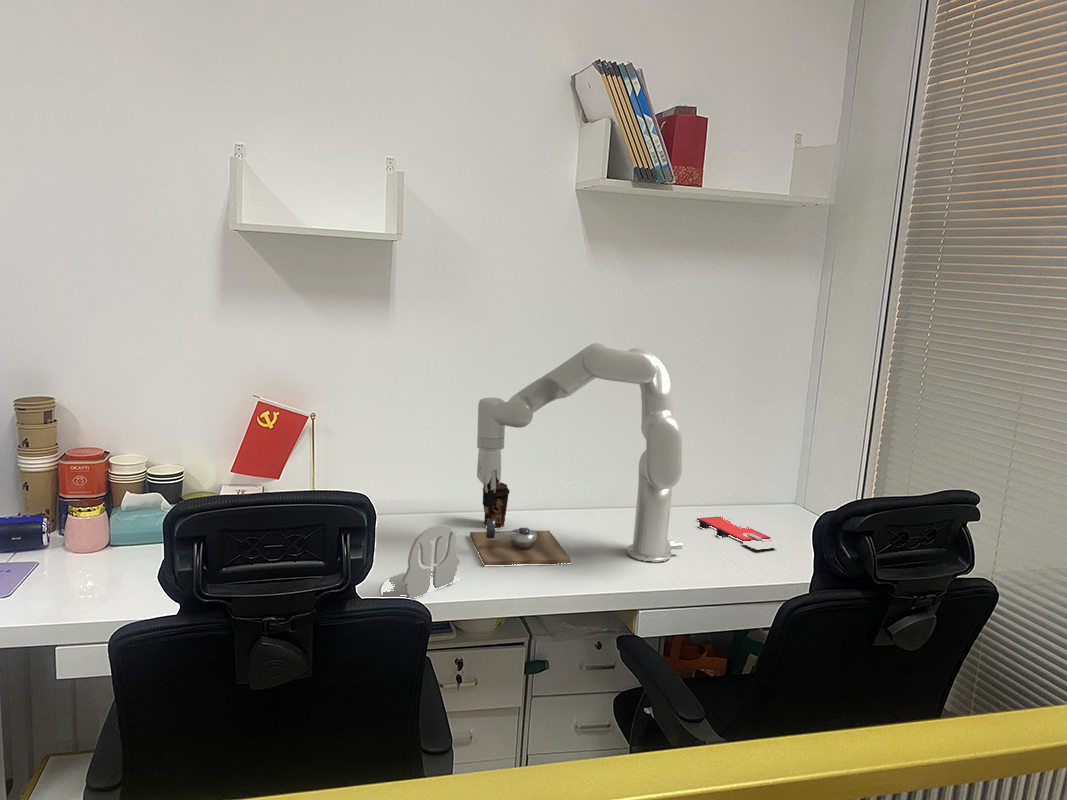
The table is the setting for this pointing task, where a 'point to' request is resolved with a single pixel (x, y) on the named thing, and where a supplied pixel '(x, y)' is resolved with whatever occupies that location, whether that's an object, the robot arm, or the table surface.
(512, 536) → the grey crank handle
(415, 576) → the ornament
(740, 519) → the table surface
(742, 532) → the red board with handle
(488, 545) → the board
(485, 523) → the coffee cup
